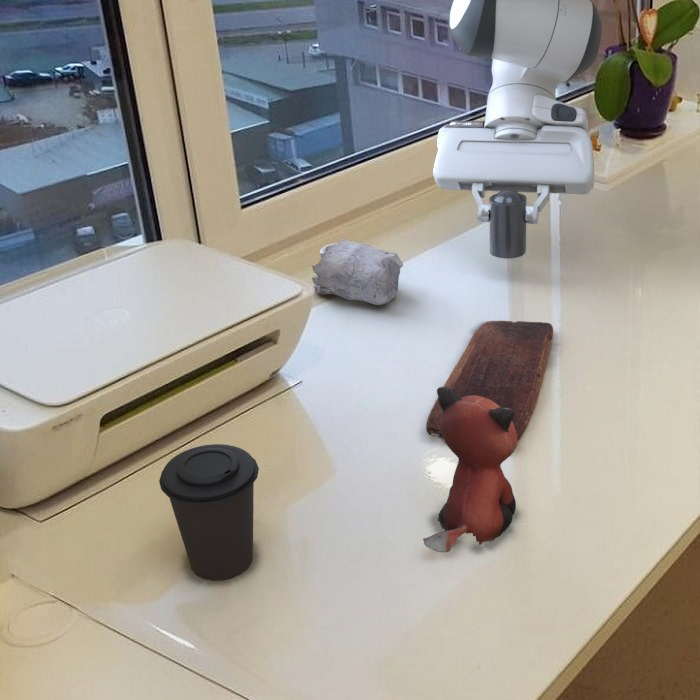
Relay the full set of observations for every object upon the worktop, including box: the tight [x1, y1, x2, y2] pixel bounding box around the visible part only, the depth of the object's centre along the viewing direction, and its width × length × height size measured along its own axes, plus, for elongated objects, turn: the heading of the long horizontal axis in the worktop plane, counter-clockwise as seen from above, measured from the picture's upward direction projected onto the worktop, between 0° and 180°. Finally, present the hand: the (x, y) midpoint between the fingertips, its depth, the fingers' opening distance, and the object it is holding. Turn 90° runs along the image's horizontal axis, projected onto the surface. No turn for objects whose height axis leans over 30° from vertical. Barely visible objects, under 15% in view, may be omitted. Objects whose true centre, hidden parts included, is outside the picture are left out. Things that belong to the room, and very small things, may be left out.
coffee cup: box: [158, 443, 260, 581], centre depth 89 cm, size 8×8×10 cm
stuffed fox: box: [422, 386, 518, 553], centre depth 90 cm, size 8×11×12 cm
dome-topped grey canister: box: [488, 190, 528, 260], centre depth 134 cm, size 5×5×8 cm
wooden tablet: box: [425, 320, 554, 443], centre depth 114 cm, size 26×2×10 cm
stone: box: [311, 238, 404, 306], centre depth 134 cm, size 8×12×7 cm, turn 60°
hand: (507, 221), depth 133 cm, fingers closed on dome-topped grey canister, 4 cm apart
